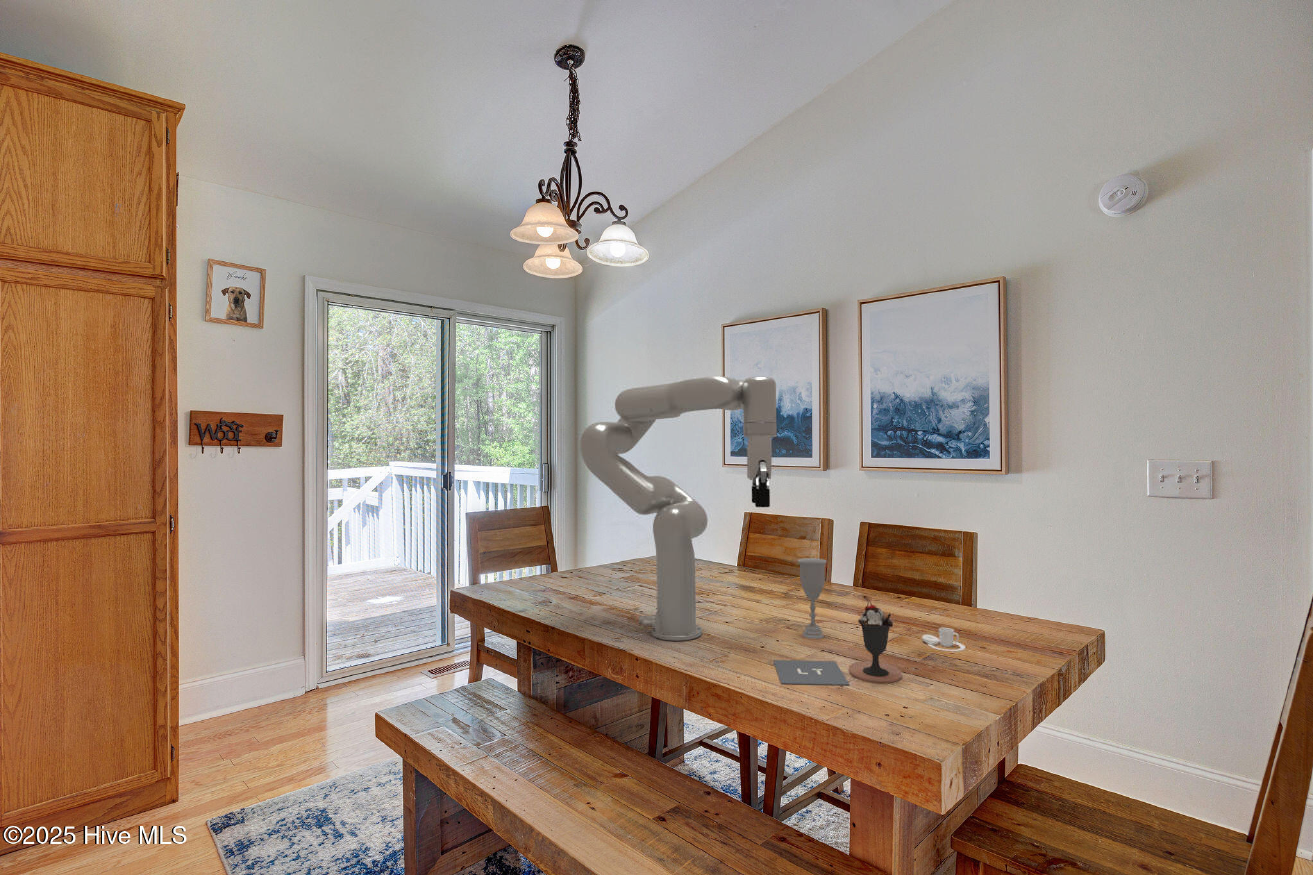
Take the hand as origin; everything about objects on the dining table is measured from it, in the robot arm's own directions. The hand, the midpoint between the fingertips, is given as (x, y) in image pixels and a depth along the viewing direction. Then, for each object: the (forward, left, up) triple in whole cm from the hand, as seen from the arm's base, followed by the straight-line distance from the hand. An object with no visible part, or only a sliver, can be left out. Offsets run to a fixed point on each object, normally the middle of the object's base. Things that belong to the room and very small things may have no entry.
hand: (760, 504), depth 146 cm
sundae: (+21, -18, -32) cm, 42 cm away
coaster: (+21, -17, -32) cm, 42 cm away
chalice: (+13, +8, -32) cm, 36 cm away
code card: (+8, -17, -32) cm, 37 cm away
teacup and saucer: (+42, +5, -33) cm, 54 cm away
